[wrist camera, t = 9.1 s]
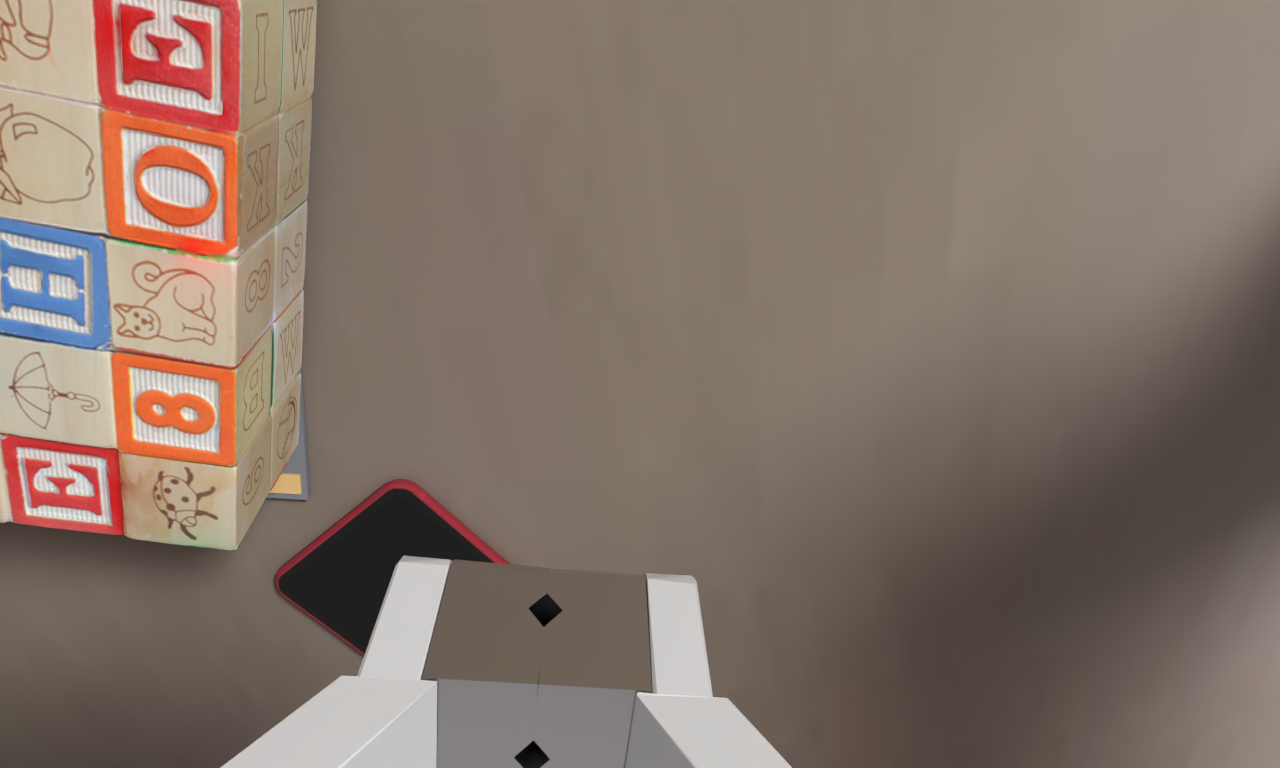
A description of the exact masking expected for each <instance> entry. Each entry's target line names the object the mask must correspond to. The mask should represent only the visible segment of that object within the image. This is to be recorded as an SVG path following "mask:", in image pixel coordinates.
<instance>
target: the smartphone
mask: <svg viewBox="0 0 1280 768" xmlns="http://www.w3.org/2000/svg"><path fill="white" fill-rule="evenodd" d="M403 556H414V557H426V558H437V559H449V560H451V561H453V560H454V559H456V560H467V561H478V562H488V563H499V564H509V563H508V562H507V561H506V560H505V559H503V558H502V557H501V556H500V555H499V554H498V553H496V552H495V551H494V550H493V549H492V548H491V547H489V546H488V545H487V544H486V543H485V542H484V541H482V540H481V539H480V538H479V537H478V536H477V535H475V534H474V533H473V532H472V531H471V530H470V529H468V528H467V527H466V526H465V525H464V524H463V523H462V522H460V521H459V520H458V519H457V518H456V517H455V516H453V515H452V514H451V513H450V512H449V511H448V510H446V509H445V508H444V507H443V506H442V505H441V504H439V503H438V502H437V501H436V500H435V499H434V498H432V497H431V496H430V495H429V494H428V493H427V492H425V491H424V490H423V489H422V488H421V487H420V486H418V485H417V484H416V483H414V482H412V481H409V480H403V479H397V480H393V481H390V482H388V483H386V484H384V485H383V486H382V487H380V488H379V489H378V490H377V491H375V492H374V493H373V494H372V495H370V496H369V497H368V498H367V499H365V500H364V501H363V502H362V503H360V504H359V505H358V506H357V507H355V508H354V509H353V510H352V511H350V512H349V513H348V514H347V515H345V516H344V517H343V518H342V519H340V520H339V521H338V522H337V523H335V524H334V525H333V526H332V527H330V528H329V529H328V530H327V531H325V532H324V533H323V534H322V535H320V536H319V537H318V538H317V539H315V540H314V541H313V542H312V543H311V544H309V545H308V546H307V547H306V548H304V549H303V550H302V551H301V552H299V553H298V554H297V555H296V556H294V557H293V558H292V559H291V560H289V561H288V562H287V563H286V564H284V565H283V566H282V567H281V568H280V569H279V571H278V573H277V575H276V578H275V584H276V587H277V589H278V591H279V592H280V593H281V594H282V595H283V596H284V597H285V598H286V599H288V600H289V601H291V602H292V603H293V604H295V605H296V606H297V607H299V608H300V609H301V610H303V611H304V612H306V613H307V614H308V615H310V616H311V617H312V618H314V619H315V620H317V621H318V622H319V623H321V624H322V625H323V626H325V627H326V628H327V629H329V630H330V631H332V632H333V633H334V634H336V635H337V636H338V637H340V638H341V639H342V640H344V641H345V642H347V643H348V644H349V645H351V646H352V647H353V648H355V649H356V650H357V651H359V652H360V653H362V654H363V655H365V652H366V649H367V646H368V644H369V641H370V638H371V635H372V632H373V629H374V626H375V623H376V621H377V618H378V615H379V612H380V609H381V606H382V603H383V600H384V598H385V595H386V592H387V589H388V586H389V583H390V580H391V577H392V575H393V572H394V569H395V566H396V564H397V563H398V562H399V560H400V559H401V558H402V557H403Z"/></svg>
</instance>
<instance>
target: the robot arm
mask: <svg viewBox="0 0 1280 768" xmlns="http://www.w3.org/2000/svg"><path fill="white" fill-rule="evenodd" d="M220 768H792V767H791V766H790V765H789V764H788V763H787V761H786V760H785V759H784V758H783V757H782V756H781V755H780V754H779V753H778V752H777V751H776V750H775V748H774V747H773V746H772V745H771V744H770V743H769V742H768V741H767V740H766V739H765V738H764V737H763V736H762V734H761V733H760V732H759V731H758V730H757V729H756V728H755V727H754V726H753V725H752V724H751V723H750V722H749V720H748V719H747V718H746V717H745V716H744V715H743V714H742V713H741V712H740V711H739V710H738V709H737V708H736V706H735V705H734V704H733V703H732V702H731V701H730V700H729V699H728V698H718V697H713V694H712V687H711V680H710V673H709V666H708V659H707V652H706V645H705V638H704V631H703V624H702V617H701V610H700V603H699V596H698V589H697V582H696V581H695V579H694V578H693V576H691V575H670V574H649V573H645V575H643V574H629V573H613V572H597V571H582V570H566V569H550V568H542V567H532V566H521V565H510V564H499V563H488V562H478V561H467V560H456V559H454V560H453V561H451V560H449V559H437V558H426V557H414V556H403V557H402V558H401V559H400V560H399V562H398V563H397V564H396V566H395V569H394V572H393V575H392V577H391V580H390V583H389V586H388V589H387V592H386V595H385V598H384V600H383V603H382V606H381V609H380V612H379V615H378V618H377V621H376V623H375V626H374V629H373V632H372V635H371V638H370V641H369V644H368V646H367V649H366V652H365V655H364V658H363V661H362V664H361V666H360V669H359V672H358V675H357V676H340V677H339V678H337V679H336V680H335V681H333V682H332V683H331V684H329V685H328V686H327V687H325V688H324V689H323V690H321V691H320V692H319V693H318V694H316V695H315V696H314V697H312V698H311V699H310V700H308V701H307V702H306V703H304V704H303V705H302V706H300V707H299V708H298V709H296V710H295V711H294V712H293V713H291V714H290V715H289V716H287V717H286V718H285V719H283V720H282V721H281V722H279V723H278V724H277V725H275V726H274V727H273V728H272V729H270V730H269V731H268V732H266V733H265V734H264V735H262V736H261V737H260V738H258V739H257V740H256V741H254V742H253V743H252V744H250V745H249V746H248V747H247V748H245V749H244V750H243V751H241V752H240V753H239V754H237V755H236V756H235V757H233V758H232V759H231V760H229V761H228V762H227V763H226V764H224V765H223V766H222V767H220Z"/></svg>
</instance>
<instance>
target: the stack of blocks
mask: <svg viewBox="0 0 1280 768" xmlns="http://www.w3.org/2000/svg"><path fill="white" fill-rule="evenodd" d="M316 14H317V0H0V523H5V522H9V521H11V522H14V523H18V524H25V525H33V526H40V527H48V528H57V529H65V530H74V531H83V532H92V533H101V534H111V535H123V534H124V535H125V536H127V537H128V538H131V539H136V540H144V541H153V542H160V543H167V544H176V545H186V546H195V547H204V548H216V549H224V550H235V549H237V548H238V546H239V544H240V542H241V541H242V539H243V537H244V536H245V534H246V532H247V530H248V529H249V527H250V525H251V524H252V522H253V520H254V519H255V517H256V515H257V513H258V512H259V510H260V508H261V506H262V504H263V503H264V501H265V499H266V497H267V495H268V492H269V491H270V490H272V488H273V487H274V485H275V483H276V482H277V480H278V478H279V476H280V475H281V473H282V471H283V470H284V468H285V466H286V465H287V463H288V461H289V459H290V458H291V456H292V454H293V452H294V451H295V449H296V447H297V445H298V439H299V421H300V393H301V374H300V368H301V366H302V342H303V313H304V291H303V289H302V288H303V286H304V274H305V253H306V229H307V195H308V184H309V161H310V139H311V117H312V100H311V95H312V92H313V89H314V65H315V42H316Z"/></svg>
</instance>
